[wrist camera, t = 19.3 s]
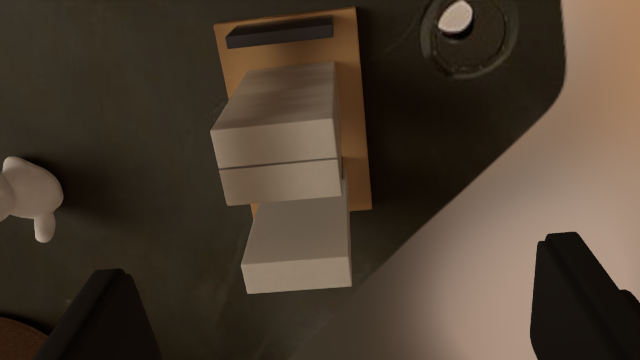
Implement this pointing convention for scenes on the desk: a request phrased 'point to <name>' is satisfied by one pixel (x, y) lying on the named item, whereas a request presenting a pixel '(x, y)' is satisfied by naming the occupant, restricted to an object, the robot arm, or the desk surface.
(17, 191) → the figurine
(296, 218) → the white book
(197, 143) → the desk surface
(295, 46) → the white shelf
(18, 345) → the planter
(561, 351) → the robot arm
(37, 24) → the desk surface
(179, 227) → the desk surface
